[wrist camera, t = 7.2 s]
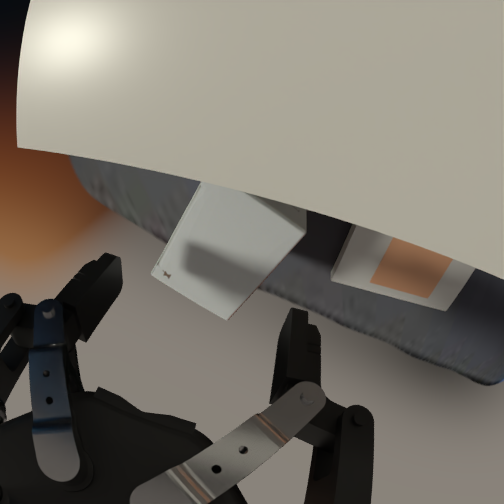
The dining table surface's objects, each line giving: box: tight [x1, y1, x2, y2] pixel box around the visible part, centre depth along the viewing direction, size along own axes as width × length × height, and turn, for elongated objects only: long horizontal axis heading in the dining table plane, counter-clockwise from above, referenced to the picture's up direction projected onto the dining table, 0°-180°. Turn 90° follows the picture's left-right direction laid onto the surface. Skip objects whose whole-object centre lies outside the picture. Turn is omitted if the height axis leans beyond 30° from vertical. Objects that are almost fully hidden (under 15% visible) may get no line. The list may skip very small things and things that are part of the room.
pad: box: [331, 224, 475, 311], centre depth 23 cm, size 14×11×1 cm
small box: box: [151, 181, 307, 320], centre depth 19 cm, size 8×6×10 cm
